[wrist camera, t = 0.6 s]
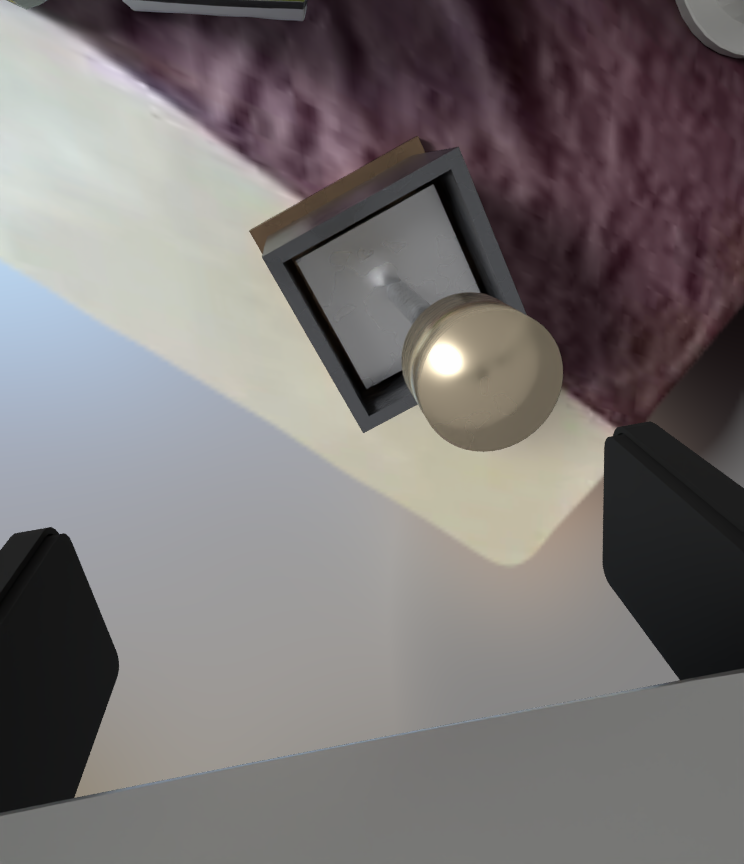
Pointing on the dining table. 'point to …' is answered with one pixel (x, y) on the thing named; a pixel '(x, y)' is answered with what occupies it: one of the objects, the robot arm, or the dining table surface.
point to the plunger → (435, 326)
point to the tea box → (226, 8)
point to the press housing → (354, 205)
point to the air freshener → (27, 3)
